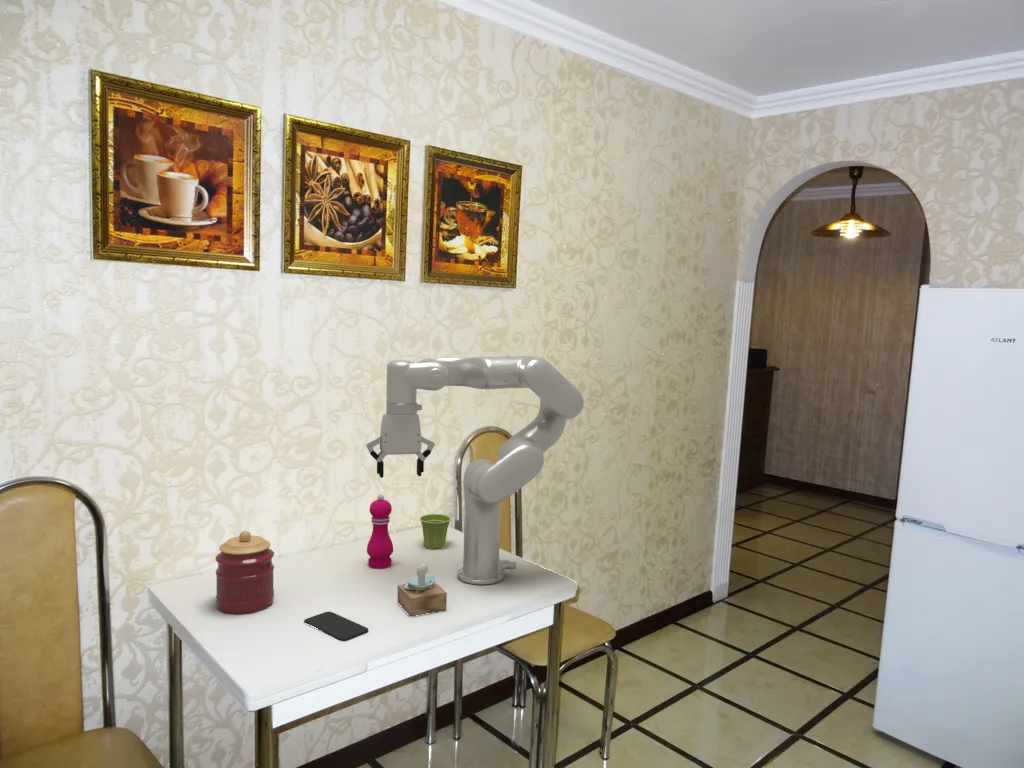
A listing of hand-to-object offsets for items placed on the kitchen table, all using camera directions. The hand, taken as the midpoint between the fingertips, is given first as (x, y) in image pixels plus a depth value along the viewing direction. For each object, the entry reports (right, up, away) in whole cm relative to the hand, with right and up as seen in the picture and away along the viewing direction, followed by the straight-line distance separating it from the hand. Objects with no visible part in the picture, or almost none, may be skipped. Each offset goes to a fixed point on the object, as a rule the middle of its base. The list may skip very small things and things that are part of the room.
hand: (400, 475), depth 184 cm
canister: (-35, -29, -13) cm, 47 cm away
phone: (-11, -31, -24) cm, 41 cm away
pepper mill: (-8, -27, +16) cm, 32 cm away
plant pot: (+5, -26, +34) cm, 43 cm away
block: (+7, -30, -12) cm, 33 cm away
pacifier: (+6, -26, -11) cm, 29 cm away
